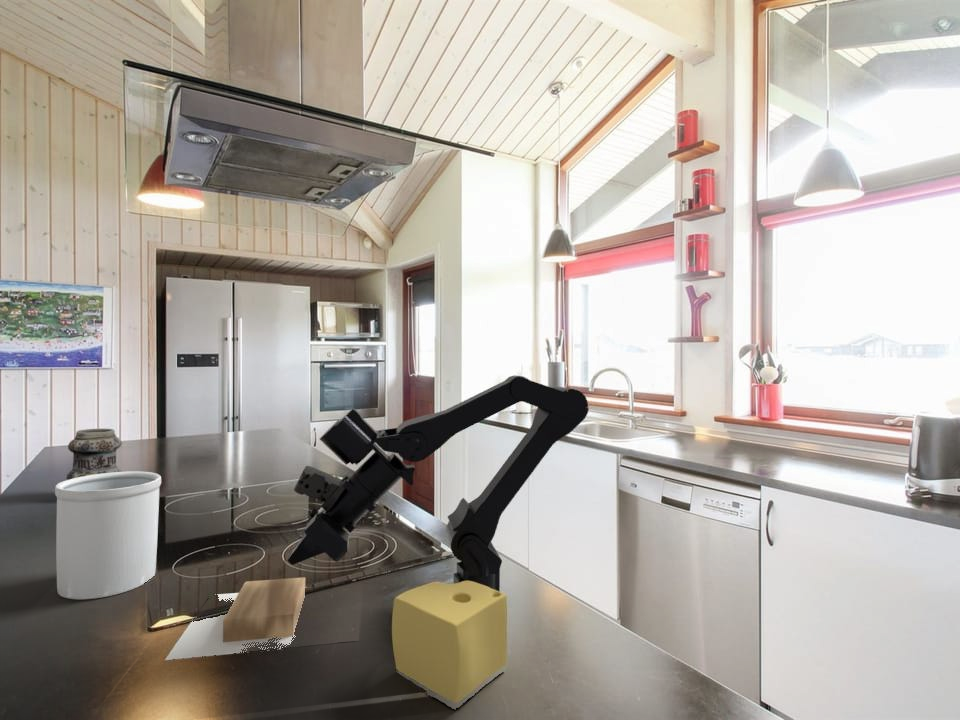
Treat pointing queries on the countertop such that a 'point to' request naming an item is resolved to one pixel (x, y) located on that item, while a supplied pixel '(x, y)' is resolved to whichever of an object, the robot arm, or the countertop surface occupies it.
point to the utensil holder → (106, 533)
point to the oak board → (265, 610)
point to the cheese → (450, 636)
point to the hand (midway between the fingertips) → (290, 562)
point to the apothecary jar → (94, 452)
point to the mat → (213, 638)
